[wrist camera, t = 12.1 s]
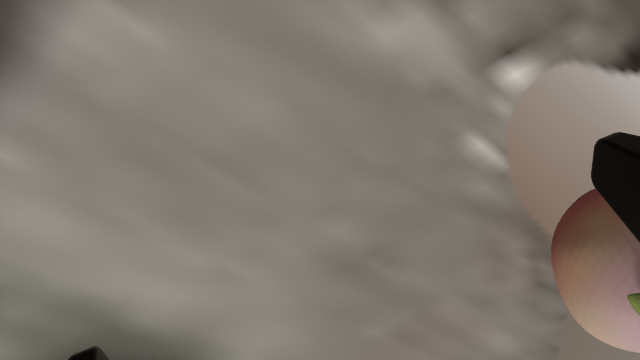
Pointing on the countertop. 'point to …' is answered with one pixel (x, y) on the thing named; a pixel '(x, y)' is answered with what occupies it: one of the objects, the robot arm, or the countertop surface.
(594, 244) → the decorative fruit
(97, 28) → the countertop surface
